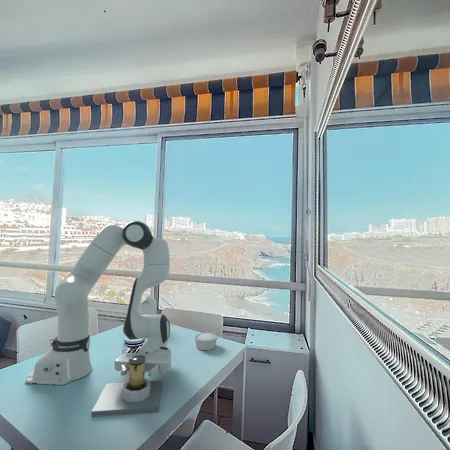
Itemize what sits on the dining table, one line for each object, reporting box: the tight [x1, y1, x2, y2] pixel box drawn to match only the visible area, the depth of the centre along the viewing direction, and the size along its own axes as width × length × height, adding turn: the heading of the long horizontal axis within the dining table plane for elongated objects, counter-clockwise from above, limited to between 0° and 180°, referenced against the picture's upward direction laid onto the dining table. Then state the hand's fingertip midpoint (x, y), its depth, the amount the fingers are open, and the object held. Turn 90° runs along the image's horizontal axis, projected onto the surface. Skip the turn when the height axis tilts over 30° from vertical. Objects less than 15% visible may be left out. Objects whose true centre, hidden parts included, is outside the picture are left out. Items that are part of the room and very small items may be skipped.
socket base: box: [91, 377, 163, 417], centre depth 96 cm, size 20×16×4 cm
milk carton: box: [139, 294, 158, 314], centre depth 165 cm, size 7×7×19 cm
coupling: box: [128, 355, 146, 391], centre depth 96 cm, size 8×5×12 cm
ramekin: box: [194, 332, 218, 351], centre depth 140 cm, size 11×11×5 cm
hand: (136, 373), depth 96 cm, fingers open, 8 cm apart
